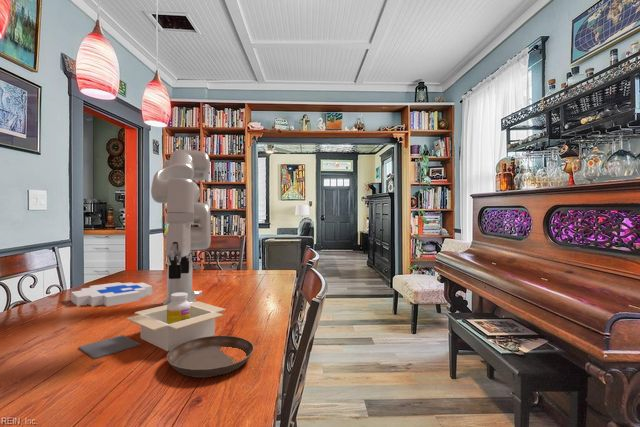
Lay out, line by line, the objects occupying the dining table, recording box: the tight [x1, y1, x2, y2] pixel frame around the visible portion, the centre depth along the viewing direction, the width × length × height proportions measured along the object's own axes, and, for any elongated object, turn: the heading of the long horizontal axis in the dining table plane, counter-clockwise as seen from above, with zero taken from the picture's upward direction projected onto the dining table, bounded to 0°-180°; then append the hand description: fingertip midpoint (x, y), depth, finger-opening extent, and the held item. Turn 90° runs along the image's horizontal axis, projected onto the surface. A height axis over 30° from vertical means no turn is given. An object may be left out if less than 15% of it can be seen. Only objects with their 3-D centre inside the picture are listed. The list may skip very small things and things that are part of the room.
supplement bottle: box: [167, 292, 191, 324], centre depth 97 cm, size 7×7×13 cm
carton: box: [126, 300, 227, 352], centre depth 96 cm, size 23×23×7 cm
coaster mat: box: [78, 334, 141, 360], centre depth 88 cm, size 11×11×1 cm
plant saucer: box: [166, 335, 255, 378], centre depth 80 cm, size 21×21×3 cm
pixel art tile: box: [70, 281, 153, 307], centre depth 141 cm, size 28×4×28 cm
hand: (179, 275), depth 96 cm, fingers open, 9 cm apart
